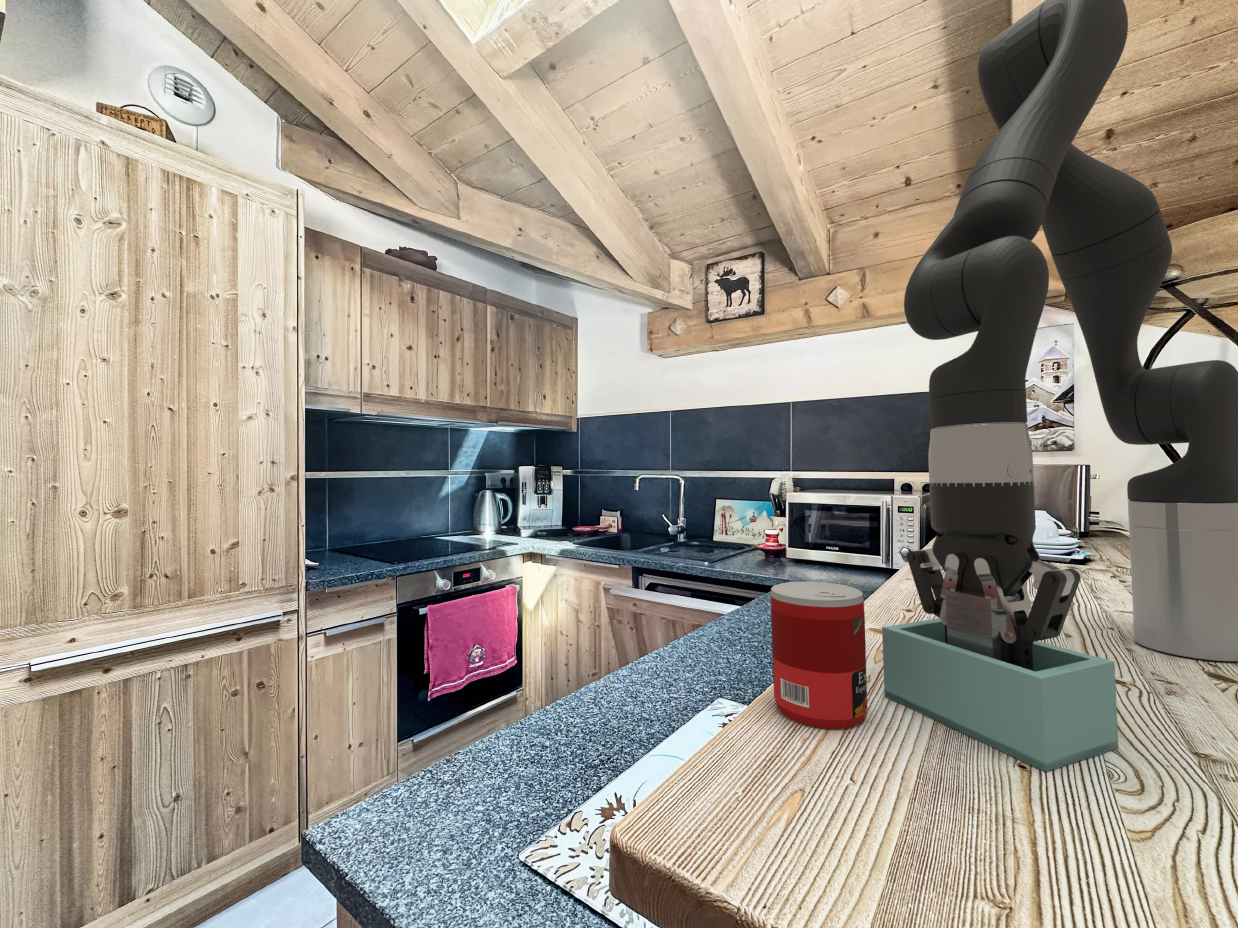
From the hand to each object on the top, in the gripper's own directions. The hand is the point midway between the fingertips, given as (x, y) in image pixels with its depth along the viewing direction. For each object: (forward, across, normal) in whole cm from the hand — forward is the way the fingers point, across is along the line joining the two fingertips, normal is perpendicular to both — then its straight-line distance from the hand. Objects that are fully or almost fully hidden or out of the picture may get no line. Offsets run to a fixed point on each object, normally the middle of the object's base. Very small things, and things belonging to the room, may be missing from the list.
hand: (987, 674), depth 45 cm
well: (+4, 0, 0) cm, 4 cm away
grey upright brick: (+2, 0, 0) cm, 2 cm away
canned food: (+4, +7, +12) cm, 15 cm away
